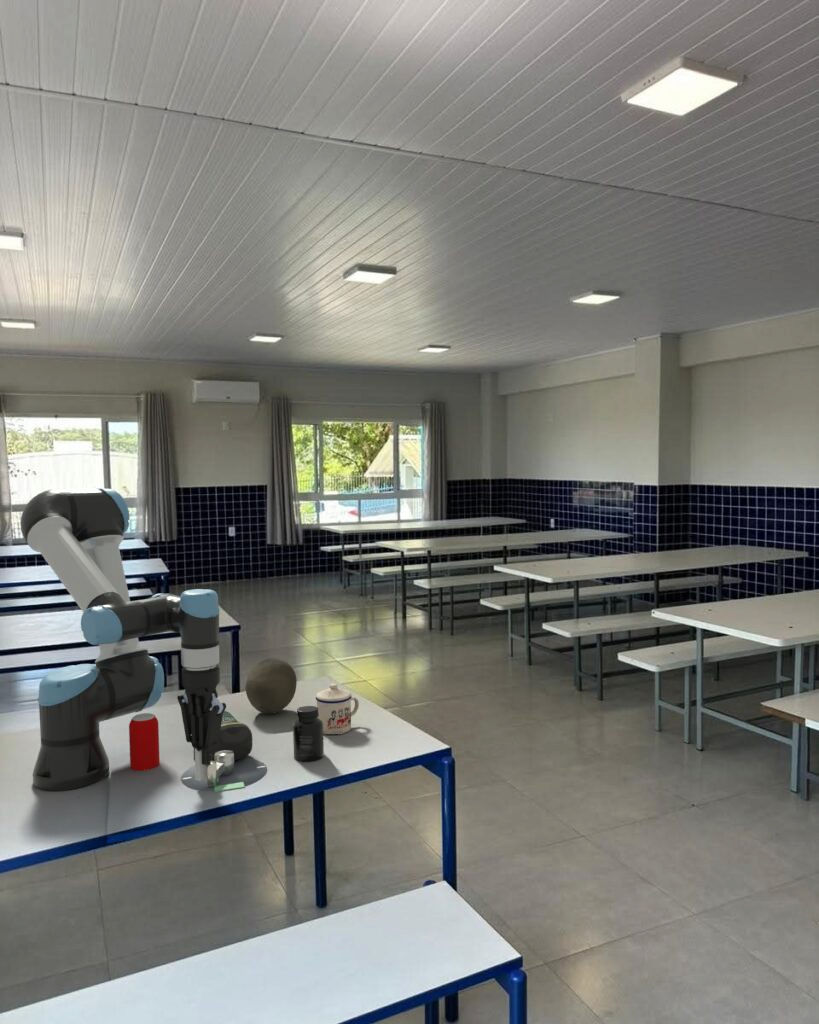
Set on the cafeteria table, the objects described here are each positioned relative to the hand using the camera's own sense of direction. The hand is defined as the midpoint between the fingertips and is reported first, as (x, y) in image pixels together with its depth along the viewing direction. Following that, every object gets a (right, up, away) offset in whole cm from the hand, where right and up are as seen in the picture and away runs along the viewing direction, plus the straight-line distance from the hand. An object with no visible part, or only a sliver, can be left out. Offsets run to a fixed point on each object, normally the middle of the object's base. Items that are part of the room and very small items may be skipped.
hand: (202, 778), depth 152 cm
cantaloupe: (+5, 0, +49) cm, 49 cm away
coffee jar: (-6, +3, +28) cm, 28 cm away
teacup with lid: (+25, -1, +37) cm, 44 cm away
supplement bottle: (+20, -2, +16) cm, 25 cm away
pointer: (+3, -1, +4) cm, 5 cm away
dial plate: (+3, -2, +7) cm, 8 cm away
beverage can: (-16, -3, +12) cm, 20 cm away
